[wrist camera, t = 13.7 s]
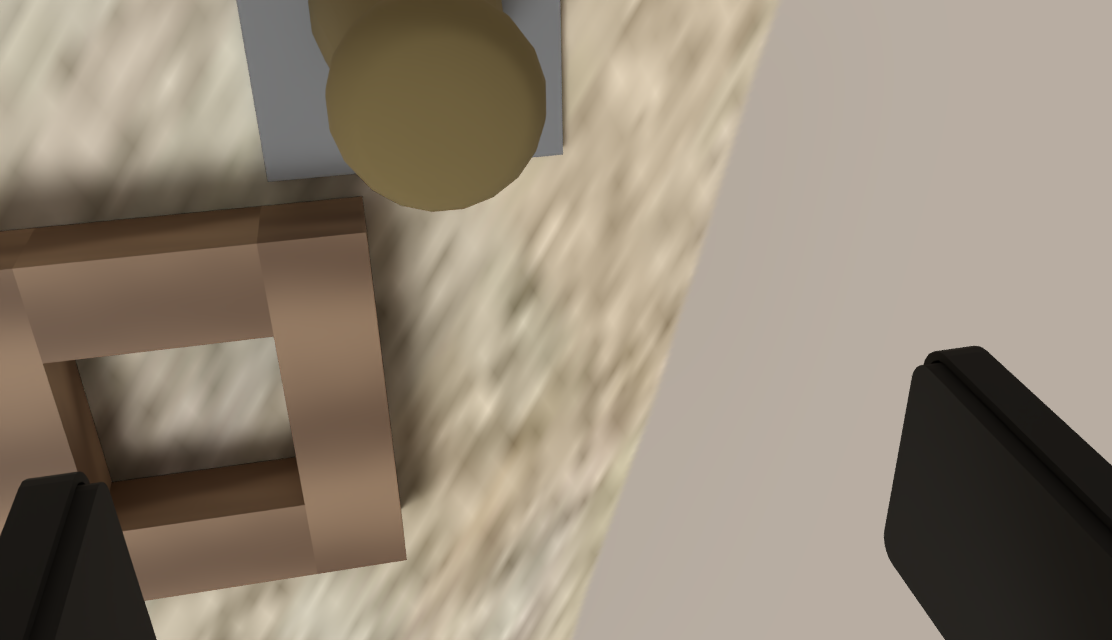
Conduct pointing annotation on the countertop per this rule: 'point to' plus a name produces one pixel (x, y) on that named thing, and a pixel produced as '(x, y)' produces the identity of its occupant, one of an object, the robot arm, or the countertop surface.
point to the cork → (430, 96)
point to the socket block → (197, 319)
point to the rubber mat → (301, 76)
